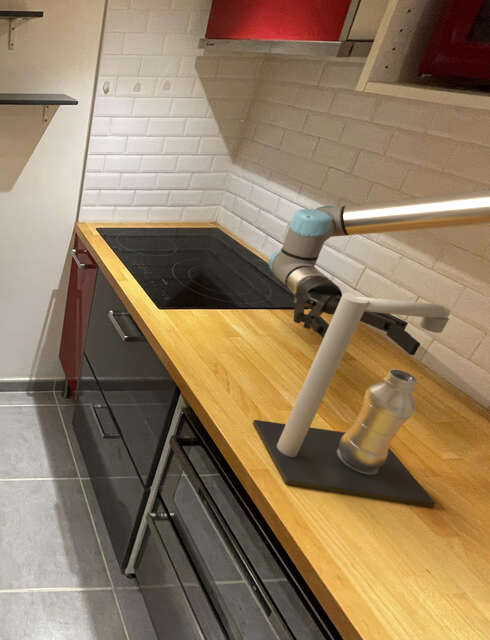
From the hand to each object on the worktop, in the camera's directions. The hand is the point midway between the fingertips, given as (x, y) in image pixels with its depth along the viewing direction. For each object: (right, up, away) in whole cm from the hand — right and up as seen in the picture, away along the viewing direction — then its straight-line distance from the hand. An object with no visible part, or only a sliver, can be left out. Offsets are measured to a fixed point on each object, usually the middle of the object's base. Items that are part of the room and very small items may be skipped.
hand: (374, 345), depth 85 cm
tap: (-9, -22, -1) cm, 24 cm away
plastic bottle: (-5, -21, -2) cm, 22 cm away
